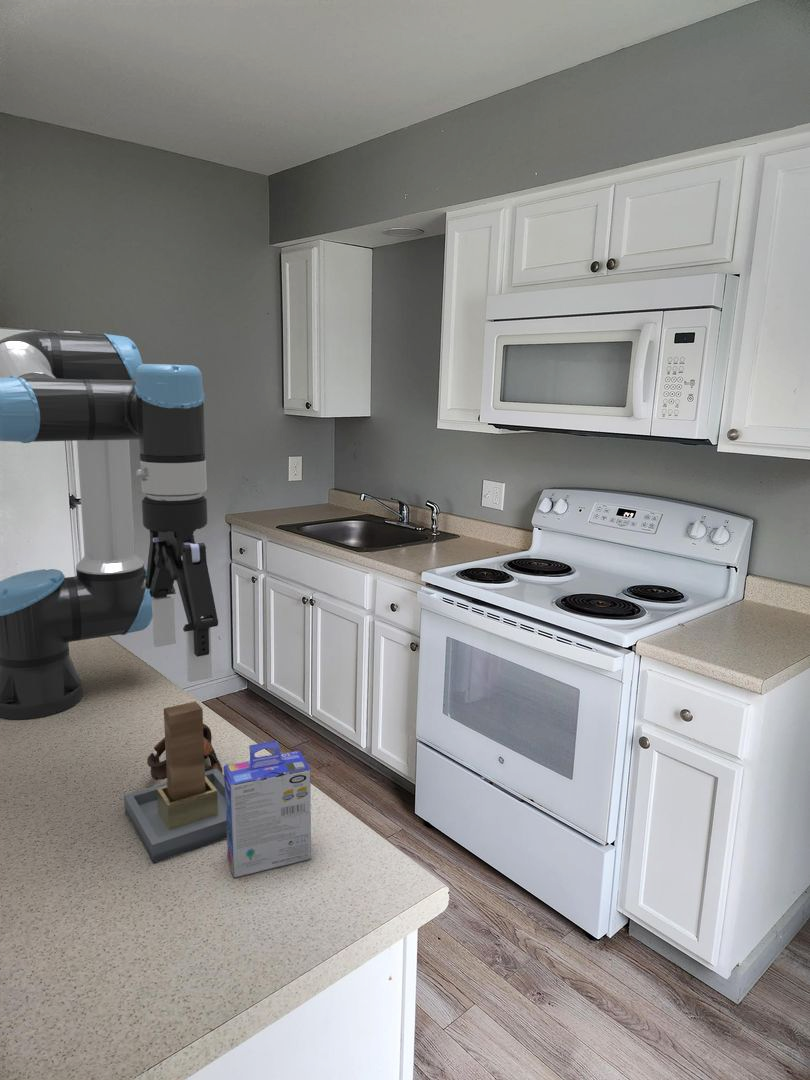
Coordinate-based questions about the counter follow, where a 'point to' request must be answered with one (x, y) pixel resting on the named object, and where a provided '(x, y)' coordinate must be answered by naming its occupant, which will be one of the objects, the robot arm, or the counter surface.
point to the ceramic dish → (180, 839)
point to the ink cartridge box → (267, 810)
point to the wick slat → (184, 750)
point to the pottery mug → (160, 767)
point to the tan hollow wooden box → (187, 806)
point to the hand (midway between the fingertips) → (181, 661)
